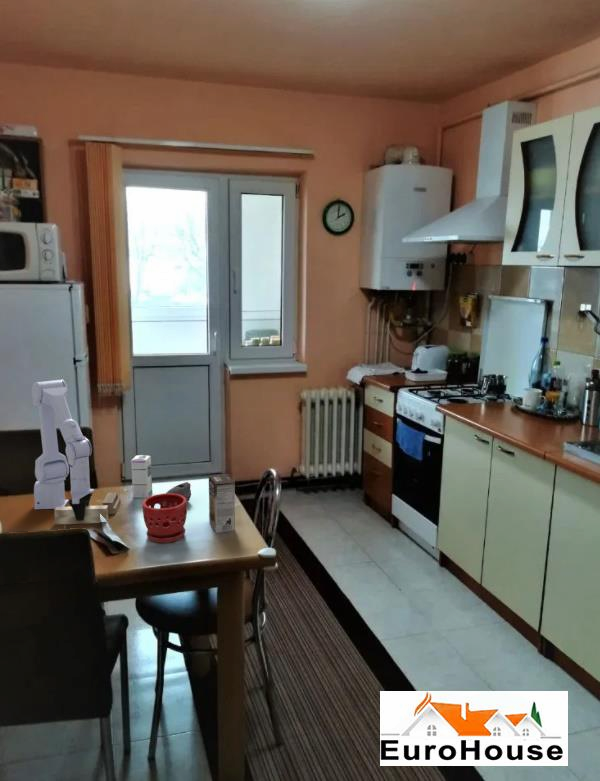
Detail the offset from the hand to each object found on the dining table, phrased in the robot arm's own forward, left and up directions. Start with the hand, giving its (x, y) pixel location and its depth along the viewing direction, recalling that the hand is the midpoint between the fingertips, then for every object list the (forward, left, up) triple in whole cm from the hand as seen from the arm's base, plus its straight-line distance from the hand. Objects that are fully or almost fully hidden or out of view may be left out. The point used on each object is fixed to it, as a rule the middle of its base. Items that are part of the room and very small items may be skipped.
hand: (81, 517), depth 198 cm
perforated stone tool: (+29, +12, -2) cm, 31 cm away
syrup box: (+16, +24, -2) cm, 29 cm away
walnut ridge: (+7, +11, -1) cm, 13 cm away
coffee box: (+45, -8, -2) cm, 46 cm away
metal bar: (0, 0, -2) cm, 2 cm away
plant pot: (+28, -15, -2) cm, 32 cm away
